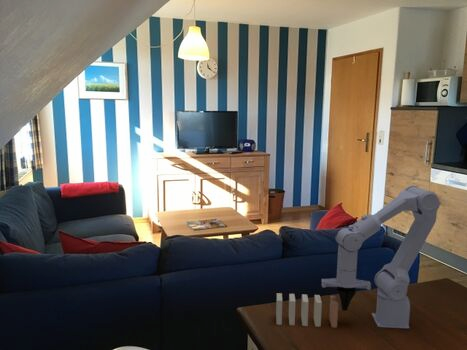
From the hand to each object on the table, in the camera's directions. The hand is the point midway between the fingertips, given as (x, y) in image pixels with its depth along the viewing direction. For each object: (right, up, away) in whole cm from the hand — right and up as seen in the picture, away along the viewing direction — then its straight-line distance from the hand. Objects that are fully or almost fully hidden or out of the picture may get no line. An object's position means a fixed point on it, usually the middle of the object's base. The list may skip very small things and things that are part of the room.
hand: (344, 309), depth 125 cm
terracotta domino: (-3, -5, +1) cm, 6 cm away
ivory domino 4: (-8, -5, +2) cm, 10 cm away
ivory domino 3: (-12, -5, +2) cm, 13 cm away
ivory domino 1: (-20, -4, +2) cm, 21 cm away
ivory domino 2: (-16, -5, +2) cm, 17 cm away
